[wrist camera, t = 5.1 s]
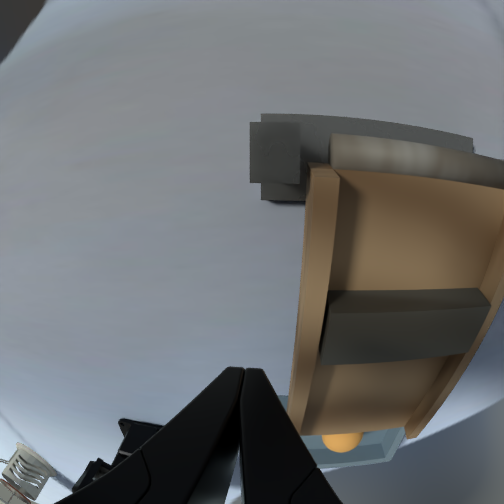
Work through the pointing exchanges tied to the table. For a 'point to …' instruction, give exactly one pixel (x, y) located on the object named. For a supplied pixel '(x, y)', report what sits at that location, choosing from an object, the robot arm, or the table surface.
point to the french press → (31, 466)
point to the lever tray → (393, 282)
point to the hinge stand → (320, 147)
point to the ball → (342, 441)
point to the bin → (366, 452)
